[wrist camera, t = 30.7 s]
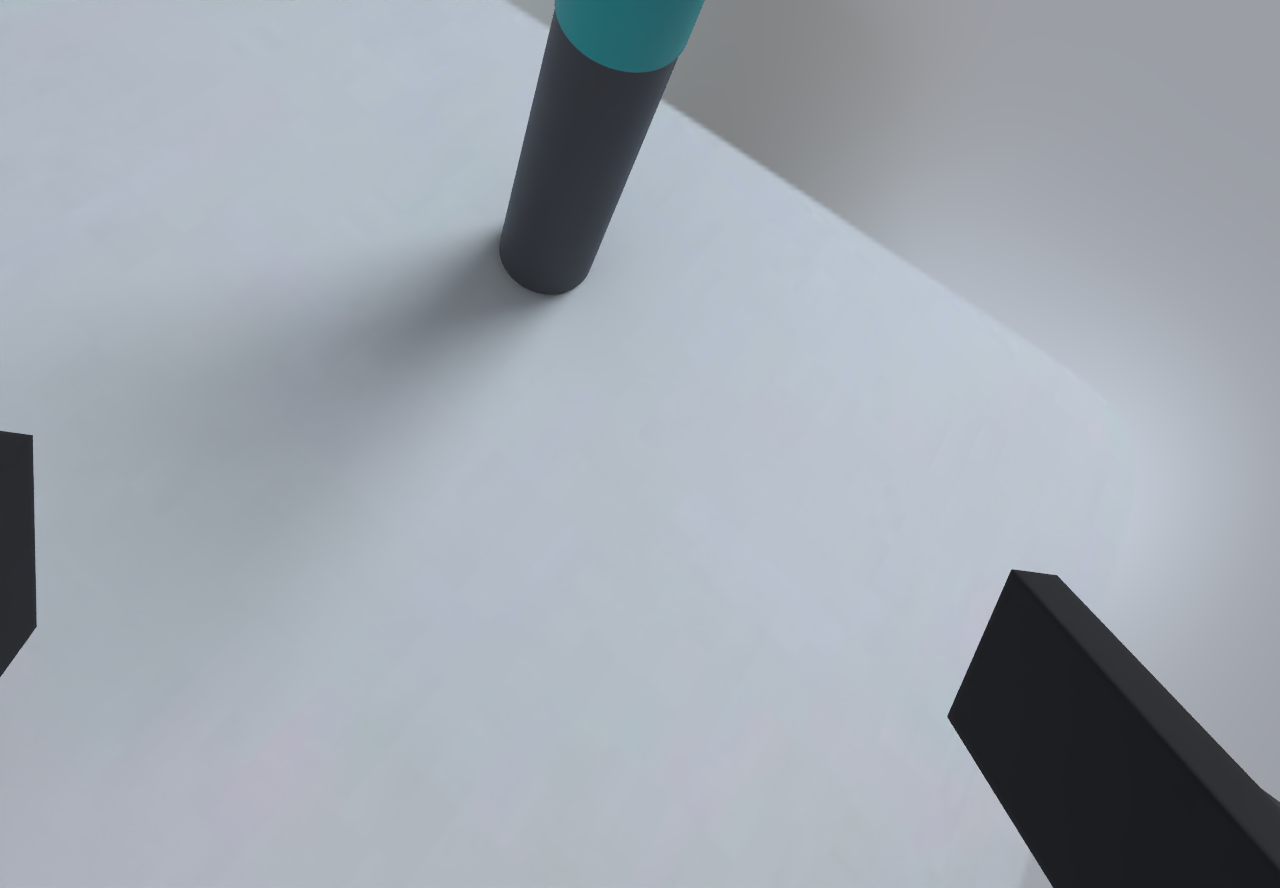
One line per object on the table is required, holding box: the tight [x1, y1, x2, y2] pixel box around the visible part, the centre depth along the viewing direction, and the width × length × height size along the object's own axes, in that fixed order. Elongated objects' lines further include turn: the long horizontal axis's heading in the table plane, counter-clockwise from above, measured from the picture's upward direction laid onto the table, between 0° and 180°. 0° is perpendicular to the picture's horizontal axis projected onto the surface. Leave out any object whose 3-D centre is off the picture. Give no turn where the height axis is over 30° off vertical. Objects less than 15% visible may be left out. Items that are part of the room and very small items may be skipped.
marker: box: [499, 0, 705, 294], centre depth 22 cm, size 3×3×12 cm
